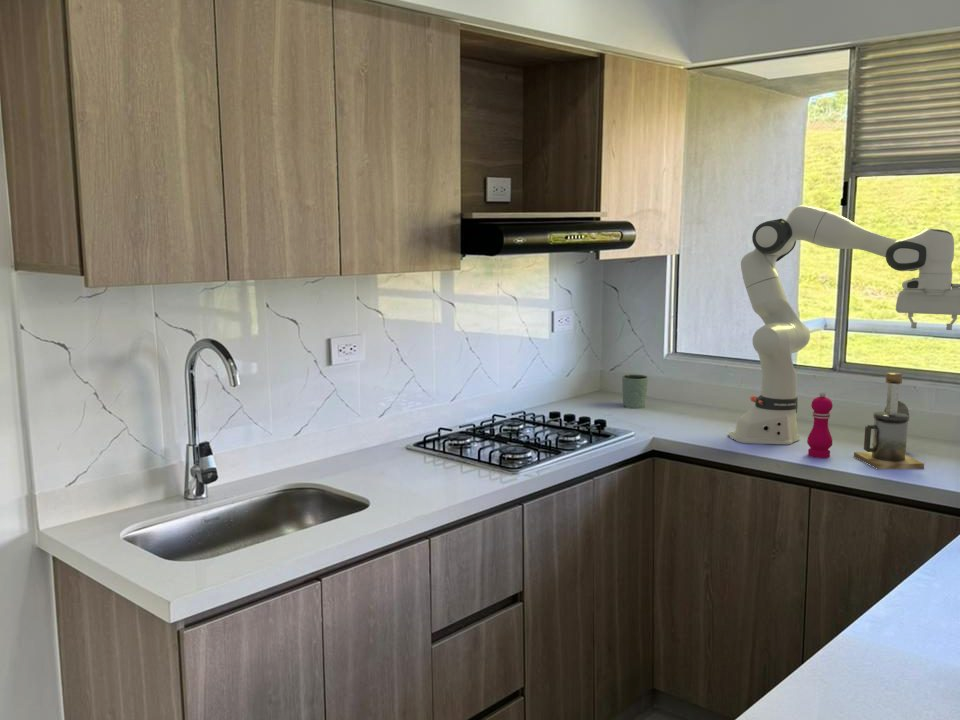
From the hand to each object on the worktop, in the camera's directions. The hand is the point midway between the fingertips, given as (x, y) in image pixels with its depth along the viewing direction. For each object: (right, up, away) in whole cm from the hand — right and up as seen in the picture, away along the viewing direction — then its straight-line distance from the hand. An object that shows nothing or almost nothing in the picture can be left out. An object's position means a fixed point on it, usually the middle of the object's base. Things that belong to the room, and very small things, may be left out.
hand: (931, 329), depth 260 cm
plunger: (-14, -25, -5) cm, 30 cm away
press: (-16, -39, -3) cm, 42 cm away
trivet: (-14, -40, -3) cm, 43 cm away
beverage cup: (-5, -38, +12) cm, 40 cm away
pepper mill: (-32, -39, +5) cm, 51 cm away
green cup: (-75, -28, +80) cm, 113 cm away
